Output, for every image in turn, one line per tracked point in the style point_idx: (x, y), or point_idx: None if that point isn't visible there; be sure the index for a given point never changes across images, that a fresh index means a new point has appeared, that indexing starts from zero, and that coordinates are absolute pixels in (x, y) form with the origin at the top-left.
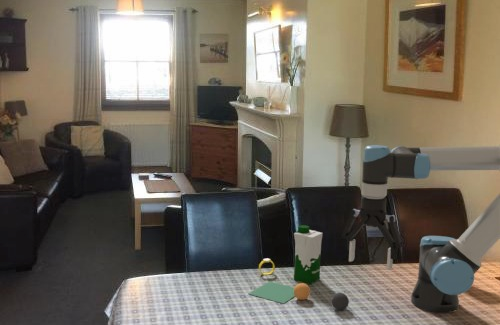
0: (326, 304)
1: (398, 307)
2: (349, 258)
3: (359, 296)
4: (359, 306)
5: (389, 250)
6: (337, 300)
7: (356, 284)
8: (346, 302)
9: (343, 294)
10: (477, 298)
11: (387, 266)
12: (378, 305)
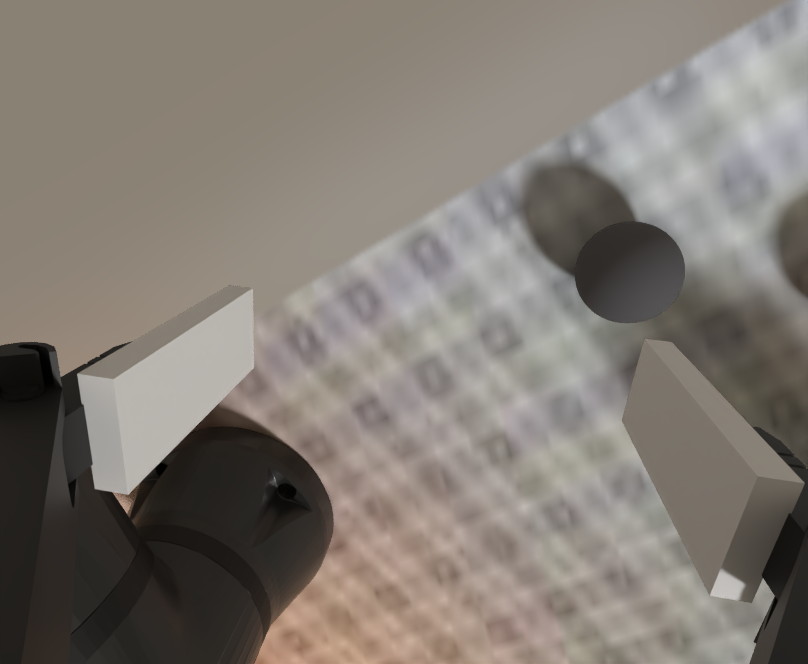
0: (702, 290)
1: (357, 414)
2: (676, 354)
3: (554, 455)
4: (526, 346)
5: (103, 365)
6: (643, 232)
7: (600, 575)
8: (585, 255)
9: (620, 285)
10: None
11: (232, 295)
12: (444, 397)
